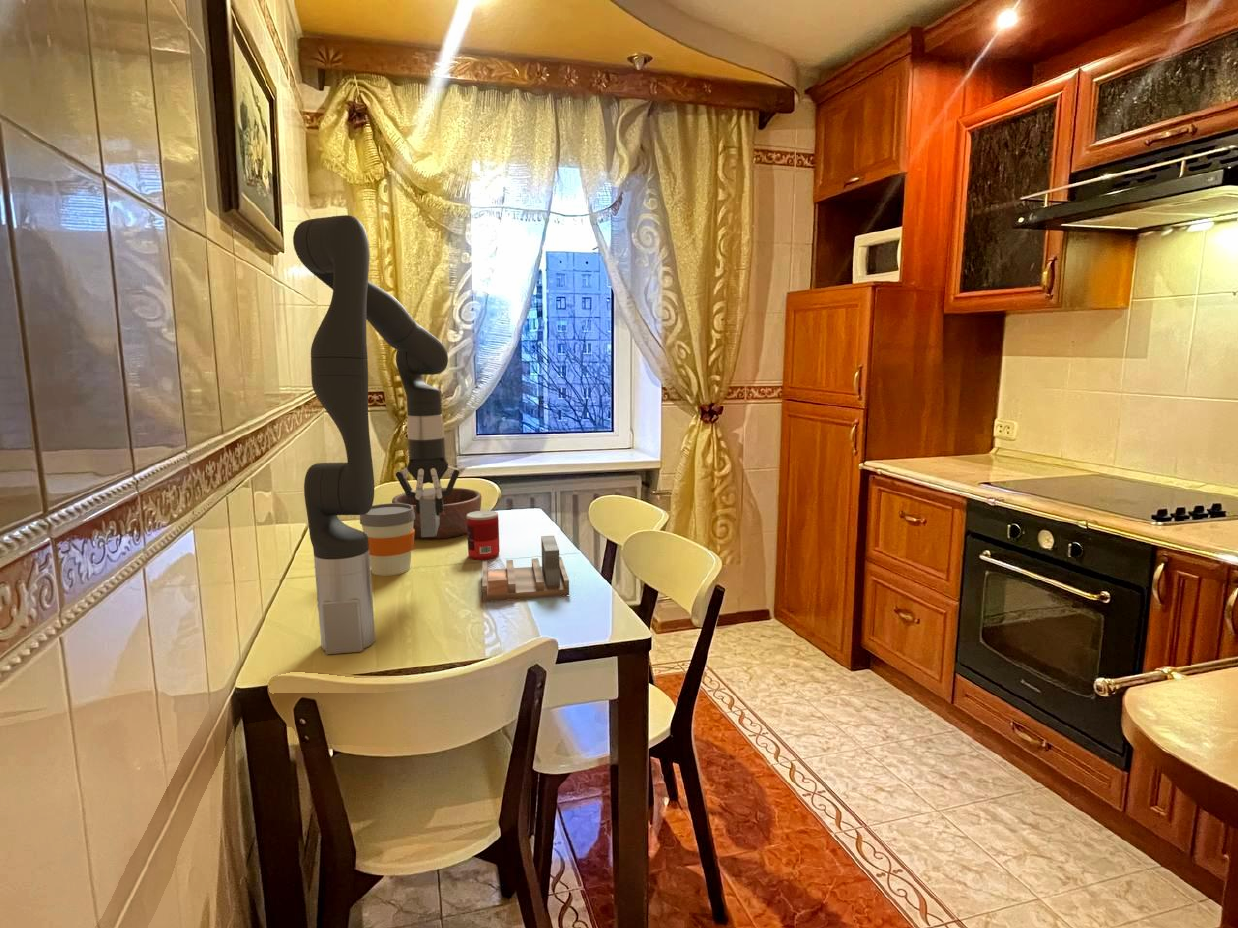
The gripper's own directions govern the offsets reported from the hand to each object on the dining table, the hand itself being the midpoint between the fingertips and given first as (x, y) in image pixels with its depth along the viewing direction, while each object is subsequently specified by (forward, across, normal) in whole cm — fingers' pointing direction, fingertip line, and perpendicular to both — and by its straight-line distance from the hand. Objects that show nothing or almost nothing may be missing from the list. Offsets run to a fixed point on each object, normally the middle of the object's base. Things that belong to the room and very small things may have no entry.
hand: (430, 514), depth 155 cm
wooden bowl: (+17, -2, +52) cm, 55 cm away
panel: (+3, 0, 0) cm, 3 cm away
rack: (+17, +20, -1) cm, 26 cm away
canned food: (+17, +11, +24) cm, 31 cm away
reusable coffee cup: (+17, -11, +17) cm, 27 cm away
